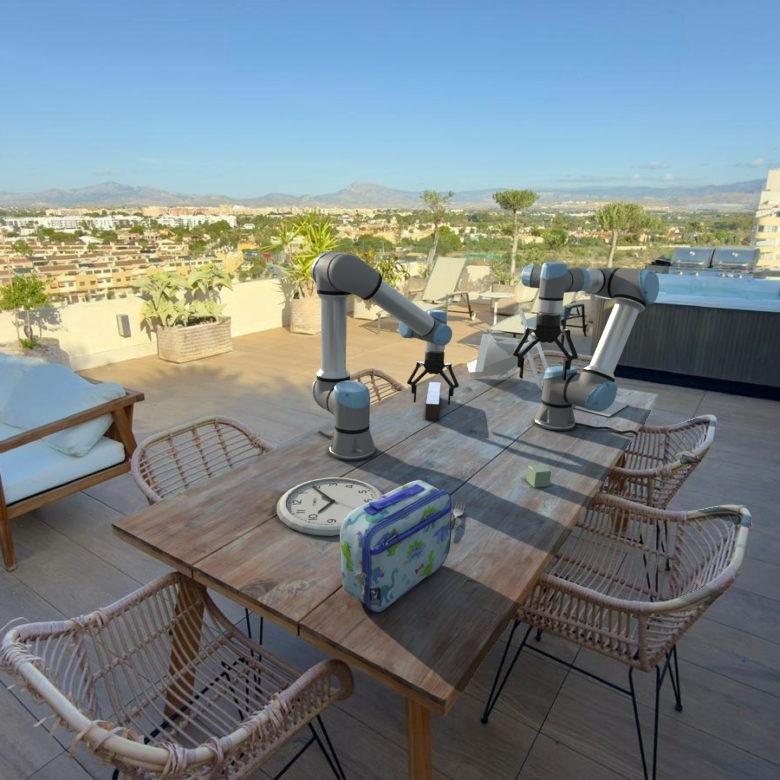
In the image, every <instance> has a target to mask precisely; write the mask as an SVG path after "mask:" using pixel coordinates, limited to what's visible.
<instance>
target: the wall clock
mask: <svg viewBox="0 0 780 780" xmlns="http://www.w3.org/2000/svg"><path fill="white" fill-rule="evenodd" d="M384 494H385V493H383V492H382V491H381V490H380V489H379V488H377V487H376V486H374V485H372V484H371V483H369V482H365V481H362V480H359V479H355V478H349V477H338V476H337V477H335V476H333V477H332V476H331V477H322V478H317V479H312V480H307V481H305V482H302V483H299V484H297V485H295V486H293V487H292V488H290V489H288V490H287V491H286V492H285V493H284V494H283V495H281V496H280V498H279V499H278V502H277V503H276V515H277V517H278V518H279V520H280V521H281V522H282V523H283V524H285V525H286V526H287V527H288V528H290V529H293V530H295V531H297V532H299V533H303V534H308V535H312V536H327V537H328V536H329V537H331V536H332V537H333V536H340V530H341V526H342V523H343V521H344V519H345V518H346V516H347V515H348V514H349V513H350V512H351V511H353V510H354V509H356V508H358V507H360V506H362V505H364V504H366V503H368V502H370V501H372V500H374V499H376V498H378V497H380V496H382V495H384Z"/></svg>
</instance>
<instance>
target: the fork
mask: <svg viewBox="0 0 780 780" xmlns="http://www.w3.org/2000/svg"><path fill="white" fill-rule="evenodd" d="M458 501H459V500H457V501H456V504H455V507H454V509H453V514H452V515H454V517H453V519H451V531H452V530H453V529H454V527H455V525H456V520H457V517H461V516H463V514H464V511H465V505H466V502H463V501H459V502H458ZM460 504H461V505H460Z"/></svg>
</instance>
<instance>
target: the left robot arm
mask: <svg viewBox="0 0 780 780" xmlns="http://www.w3.org/2000/svg"><path fill="white" fill-rule="evenodd" d="M310 273H311V274H310V275H311V278H312V280H313V281H314V283H315V284H316V295H317V296H318V297H319V298H320V369H319V370H318V371H317V372H316V378H315V380H314V381H313V383H312V386H311V396H312V398H313V400H314V402H315V403H316V404H317V405H318V406H319V407H320V408H321V409H323V410H325V411H327V412H329V413H330V414H331V415H333V417H334V432H333V434H332V435H331V434H327V433H324V432H322V431H321V430H318V433H319V434H320V435H322V436H324V437H327V438H330V444H329V454H330V455H331V457H333V458H335V459H338V460H341V461H351V462H353V461H362V460H365V459H368V458H370V457H372V456H374V454H375V452H376V447H375V443H374V439H373V436H372V433H371V429H370V419H371V418H370V417H371V404H370V403H371V395H370V394H371V393H370V389H369V387H368V386H367V385H366V384H364V383H362V382H361V381H356V380H351V372H349V370H347V331H348V330H347V323H348V299H349V298H350V297H352V295H355V296H357V297H359V298H360V299H361V300H363V301H369V302H371V303H373V304H374V305H376V306H377V307H378V308H380V309H382V310H383V311H385V312H386V313H387V314H389V315H390V316H392V317H393V318H394V319H396V320H397V321H399V323H398V332H399V335H400V336H401V337H402V338H404V339H417V340H421V341H424V342H425V345H424V346H425V347H424V349H425V351H424V362H422V361H420V360H417V361H416V364H415V367H414V369H413V371H412V372H411V374H410V376H409V378H408V379H407V382H406V383H407V385H409V386H410V387H411V389H410V390H411V391H410V393H411V394H413V403H417V387H418V385H417V384H418V383H419V382H420V381H421V380H422V378H424V376H426V375H427V374H429V375H440V376H441V377H442V379H443V380H444V381H445V383H446V384H447V385H448V386H449V387H448V398H447V406H450V405H451V397H454V392H455V389H457V388H459V386H460V384H459V382H458V379H457V377H456V374H455V372H454V370H453V364H452V362H449V363H445V350H446V346H447V345H448V344H449V343H450V342H451V341H452V338H453V330H452V328H451V326H449V325H447V324H448V314H447V312H446V311H445V310H441V309H429V310H428V311H427V312H426V311H424V310H423V308H421V307H420V306H418V305H417V304H415V303H414V302H412V301H411V300H410V299H409V298H408V297H406V295H403V294H402V293H401V292H399V291H398V290H396V289H395V288H394V287H392V286H391V285H390V284H389V283H387V282H386V281H385V280H384V277H383V275H382V274H381V273H380V272H378V271H377V270H376V269H374V268H373V267H372V266H370V265H369V264H368V263H366V261H364V260H362V259H361V258H359V257H358V256H356V255H354V254H352V253H343V252H338V251H337V252H336V251H328V252H323V253H321V254H318V256H317V257H315V259H314V261H313V262H312V264H311V270H310ZM422 366H423V369H424V370H422V372H421V373H420V374H419V375H418V376H417V377H416V378H415V379H414V377H415V376H416V375H417V373H418V371H419V369H420V368H422ZM445 368H446V370H448V373H449V374H450V377H451V379H452V380H451V379H450V378H449V377H448V376H447V374H446V373H445V370H444V369H445ZM413 379H414V380H413ZM452 381H453V382H452Z"/></svg>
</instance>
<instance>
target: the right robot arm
mask: <svg viewBox="0 0 780 780" xmlns="http://www.w3.org/2000/svg"><path fill="white" fill-rule="evenodd" d="M520 280H521V281H520V282H521V283H522V285H523V286H524V287H527V288H531V289H538V290H539V291H538V298H537V309H536V311H537V313H536V316H535V325H534V328H532V327H529V326H528V327H529V328H528V327H526V328H524V332H523V334H522V335H521V338H520V339H519V340H518V341H517V342H518V344H517V345H516V347H515V349H514V350H513V352H512V354H513V356H516V357H518V359H517V365H516V367H517V368H519V374H518V375H519V378H520V379H523V378H524V369H525V368H524V367H525V360H524V357H523V356H524V355H525V354H526V353H527V352H528V351H529V350H530V349H531V348H532V347H533V346H534V345H535V344H537V343H538V342H540V343H542V344H544V343H545V344H546V343H548V344H552V343H555V344H556V346H557V347H558V348H559V349H560V351H561V353H562V354H563V355H564V356H565V358H563V365H557V366H556V365H555V366H550V367H549V366H548V367H549V368H547V369H546V371H545V370H544V375H543V378H542V379H543V381H542V382H543V383H542V394H541V402H540V405H539V407H538V410H537V411H536V413H535V415H534V424H535V425H536V426H537V427H539V428H542V429H544V430H549V431H556V432H567V431H572V430H574V429H575V428H576V426H579V427H583V428H588V429H592V430H609V431H611V432H614V433H616V434H620V435H621V434H622V435H623V434H634V435H635V436H639V433H638V432H637V431H635V430H633V429H628V430H618V429H615V428H612V427H610V426H594V425H590V424H586V423H581V422H577V421H576V418H575V417H576V416H575V413H574V407H573V406H575V407H576V406H580V407H583V408H586V409H588V410H593V411H597V412H601V411H604V410H606V409H608V408H609V407H610V406H611V405H612V403H613V402H615V400H616V398H617V395H618V385H617V384H616V378H615V375H614V372H615V370H616V368H617V365H618V362H619V360H620V358H621V355H622V354H623V351H624V348H625V346H626V344H627V342H628V338H629V337H630V334H631V331H632V330H633V327H634V325H635V322H636V320H637V317H638V314H639V313H641V312H644V311H645V310H646V306H647V305H652V304H653V303H654V302H655V301H656V300H657V299H658V296H659V292H660V279H659V276H658V275H657V273H656V272H655V271H654V270H650V269H645V268H630V267H619V266H618V267H615V266H614V267H613V266H612V267H591V268H588V269H586V268H583V267H568V265H567V263H565V262H558V261H557V262H556V261H555V262H553V261H550V262H549V261H548V262H546V261H545V262H544V263H543V264H542V265H540V264H539V265H538V264H528V265H526V266H525V267H524V268H523V269H522V271H521V275H520ZM579 292H583V293H585V294H587V295H594V296H599V297H602V298H606V299H611V303H612V304H613V307H612V310H611V312H610V313H609V314H610V315H609V317H608V319H607V321H606V324H605V327H604V328H603V332H602V334H601V337H600V339H599V341H598V344H597V345H596V346H597V347H596V348H595V351H594V353H593V356H592V358H591V360H590V363H589V365H587V366H584V367H583V369H582V370H581V373H578V368H577V367H576V366H572V361H573V360H577V359H578V358H579V355H578V352H577V349H576V348H575V344H574V342H573V340H572V338H571V330H570V329H569V328H567V327H566V328H564V329H561V325H562V324H561V323H562V313H563V306H564V297H565V294H566V293H567V294H568V293H579ZM532 334H534V335H535V336H534V337H532V341H531V342H530V343H529V344H528V345H527V346H526V347H524V348H523V349H522V350H521V351H520V349H521V347H522V346H523V344H524V343H526V341H527V340H528V336H529V335H531V336H532ZM561 335H562V336H563V337H565V341H566V343H567V345H568V348H569V350H570V353H571V354H570V353H569V352H568V350H567V349H566V347H565V346H564V345H563V344H562V342H561V341H560V340H559V337H560V336H561ZM519 351H520V352H519ZM518 352H519V353H518Z"/></svg>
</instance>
